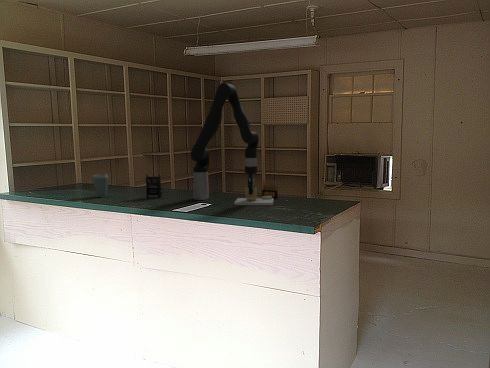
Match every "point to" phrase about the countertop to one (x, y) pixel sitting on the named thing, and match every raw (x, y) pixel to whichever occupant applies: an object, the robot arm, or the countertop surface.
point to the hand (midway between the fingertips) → (251, 193)
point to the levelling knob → (251, 197)
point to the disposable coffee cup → (100, 184)
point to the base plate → (255, 201)
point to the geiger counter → (153, 187)
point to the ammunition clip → (270, 189)
